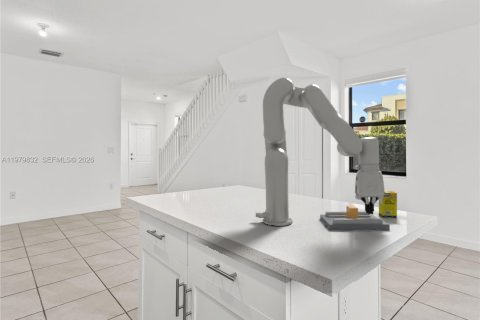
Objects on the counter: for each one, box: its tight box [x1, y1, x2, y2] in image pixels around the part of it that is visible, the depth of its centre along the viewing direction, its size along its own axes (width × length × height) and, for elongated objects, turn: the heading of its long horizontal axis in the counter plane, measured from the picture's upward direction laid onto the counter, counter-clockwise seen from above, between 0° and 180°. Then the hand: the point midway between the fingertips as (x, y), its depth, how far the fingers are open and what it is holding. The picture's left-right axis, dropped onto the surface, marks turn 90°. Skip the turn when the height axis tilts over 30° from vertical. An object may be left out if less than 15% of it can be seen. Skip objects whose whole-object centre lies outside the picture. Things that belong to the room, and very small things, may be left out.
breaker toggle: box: [345, 205, 359, 219], centre depth 111 cm, size 3×5×5 cm, turn 176°
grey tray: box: [324, 210, 384, 224], centre depth 111 cm, size 18×14×2 cm
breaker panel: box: [319, 214, 391, 231], centre depth 111 cm, size 22×16×3 cm
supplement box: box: [378, 190, 398, 219], centre depth 123 cm, size 6×6×11 cm
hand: (369, 213), depth 110 cm, fingers closed
